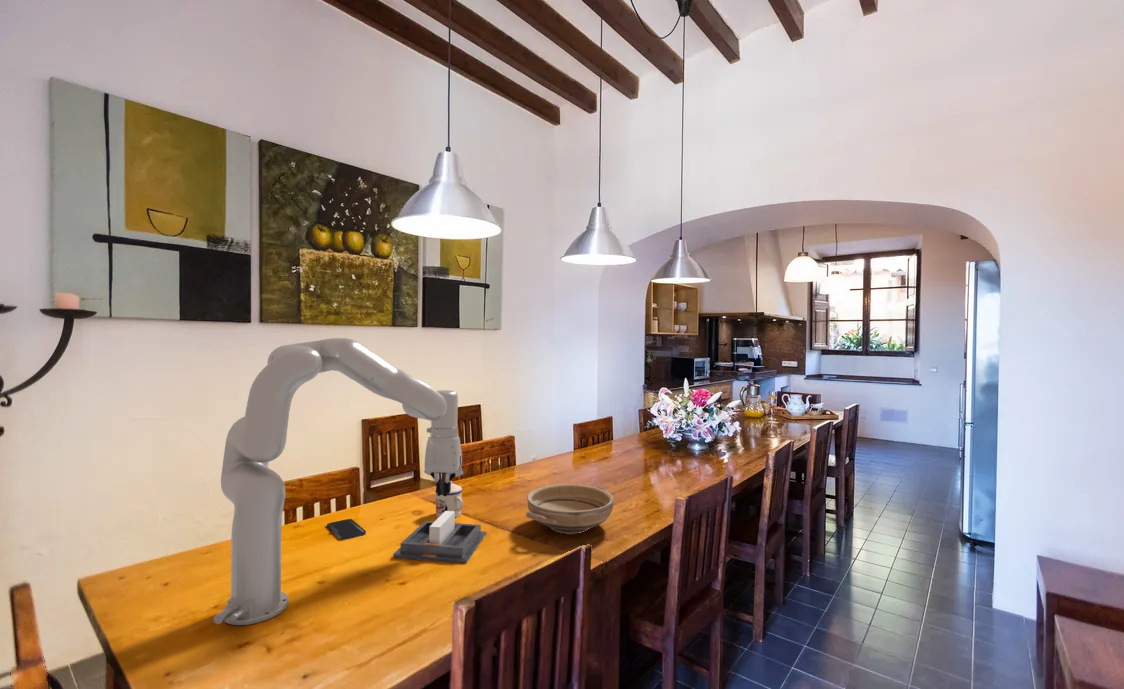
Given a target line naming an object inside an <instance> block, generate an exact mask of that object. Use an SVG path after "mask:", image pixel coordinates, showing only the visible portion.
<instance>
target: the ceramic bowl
mask: <svg viewBox="0 0 1124 689" xmlns="http://www.w3.org/2000/svg"><path fill="white" fill-rule="evenodd" d="M526 500H527V508H528V511H527V512H526V513H525V516H526V518H527V519H532V520H534V521H537V522H538V523H540V524H541V525H544V526H545V527H548V528H549V527H550V529H551V530H552V531H553V530H554V531H553V532H555V531H556V532H555V533H558V532H559V534H562V533H565V534H564V535H575V534H574V533H579V532H583V531H585V530H587V529H588V528H589V529H592V528H595V527H597V526H599V525H601V524H603V523H605V522H606V521H607V519H609V517H610V516H611V514H612V512H613V510H614V502H615V497H614V496H613V494H611V493H610V492H609V491H608V490H607V489H606V488H605V487H602V486H591V485H584V484H577V483H576V484H573V483H572V484H571V483H570V484H569V483H566V484H564V483H563V484H562V483H561V484H551V485H545V486H540V487H538V488H535V489H533V490H531V491H530V492H529V493H528V494H527V496H526Z"/></svg>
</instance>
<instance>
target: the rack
mask: <svg viewBox="0 0 1124 689" xmlns="http://www.w3.org/2000/svg"><path fill="white" fill-rule="evenodd" d="M434 522H435V521H430V520H429V521H428V520H427V521H426V520H425V521H423V522H422V523H421V524H420V525H419V526H418V527H417V528H415V530H414V531H412V533H411V534H409V535H408V536H407V537H406V538H405V539H404V540H403V541H401V542H400V547H398V549H397V550H396V551H394V553H392V558H393V559H394V558H395V559H408V560H417V561H418V560H419V561H433V562H445V563H456V562H457V563H459V564H467V562H468V561H469V560H470V559H471V557H472V556H473V555H474V553H475V552H474V551H476V550H477V549H478V547H479V546H480V545H481V543H482V542H483V540H484V539H485V538H484V536H485V535H486V536H487V531H483V530H481V529H482V526H481V524H473V523H460V522H459V523H458V522H455V529H454V530H453V531H452V532H451V534H450V535H449V536H448V537H447V538H446V539H445V540H444V541H443V542H442V543H441V545H440V544H437V543H429V530H430V526H431V525H432V524H433V523H434ZM486 536H485V537H486ZM483 538H484V539H483ZM482 539H483V540H482ZM481 541H482V542H481ZM480 542H481V543H480ZM479 544H480V545H479ZM478 545H479V546H478ZM476 548H477V549H476Z"/></svg>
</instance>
